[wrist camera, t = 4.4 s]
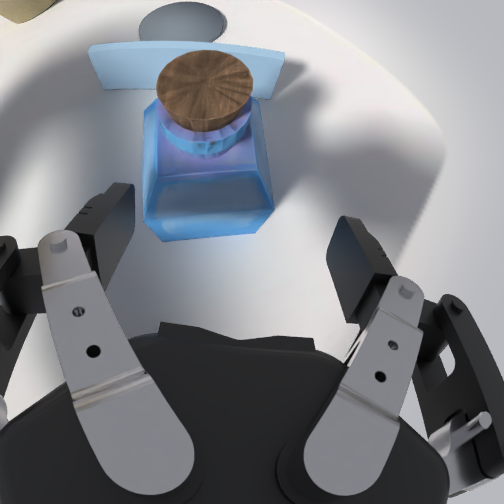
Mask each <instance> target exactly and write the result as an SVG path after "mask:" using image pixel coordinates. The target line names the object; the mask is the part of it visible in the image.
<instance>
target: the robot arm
mask: <svg viewBox="0 0 504 504" xmlns="http://www.w3.org/2000/svg"><path fill="white" fill-rule="evenodd" d="M134 227H135V188H134V185H133V184H126V183H116V182H115V183H113V184H112V186H111V187H110V188H109V189H108V190H107V191H106V192H105V193H104V194H99V195H97V196H95V197H93V198H92V199H90V200H89V201H88V202H87V203H86V205H85V206H84V208H82V209H81V210H80V211H79V214H77V215H76V216H75V217H74V218H73V220H72V221H71V222H70V223H69V224H68V226H67V227H66V228H65V229H64V230H59V231H55V232H52V233H49V234H48V235H46V236H45V237H43V238H42V239H41V240H40V242H39V244H38V247H36V248H27V249H18V245H17V242H16V239H15V238H14V237H12V236H0V504H447V499H448V498H451V497H454V496H457V495H459V494H462V493H464V492H467V491H471V490H474V489H476V488H478V487H480V486H482V485H484V484H486V483H488V482H490V481H492V480H494V479H496V478H498V477H499V476H500V475H502V474H503V473H504V381H503V378H502V376H501V374H500V371H499V369H498V367H497V365H496V362H495V361H494V358H493V356H492V354H491V352H490V350H489V348H488V345H487V343H486V341H485V339H484V337H483V336H482V334H481V332H480V330H479V328H478V326H477V324H476V322H475V320H474V319H473V317H472V315H471V313H470V311H469V310H468V308H467V306H466V305H465V304H464V303H463V302H462V301H461V300H460V299H458V298H457V297H455V296H453V295H450V294H445V295H443V296H442V298H441V299H440V300H439V302H438V303H437V304H436V303H434V302H431V301H428V300H425V299H424V294H423V292H422V290H421V289H420V288H419V286H418V285H417V284H415V283H414V282H413V281H411V280H410V279H407V278H405V277H402V276H398V274H397V273H396V271H395V269H394V267H393V266H392V264H391V262H390V260H389V259H388V257H386V256H387V255H386V254H385V252H384V251H383V249H382V247H381V245H380V244H379V242H378V241H377V240H376V239H375V238H374V237H373V236H372V235H371V234H370V233H368V231H367V230H366V228H365V226H364V225H363V223H362V221H361V220H360V219H357V218H352V217H347V216H341V217H340V218H339V220H338V222H337V225H336V228H335V230H334V233H333V236H332V238H331V241H330V243H329V246H328V249H327V254H326V261H327V265H328V268H329V271H330V274H331V277H332V280H333V283H334V286H335V289H336V292H337V295H338V298H339V301H340V304H341V307H342V310H343V313H344V317H345V320H346V323H354V324H359V326H360V330H359V332H358V333H357V335H356V337H355V339H354V340H353V342H352V344H351V346H350V347H349V349H348V351H347V353H346V354H345V356H344V358H343V360H342V361H340V360H338V359H336V358H335V357H333V356H331V355H329V354H327V353H324V352H321V351H319V350H315V345H314V340H313V338H304V337H289V336H271V337H264V338H256V339H247V340H236V339H233V338H230V337H227V336H223V335H220V334H217V333H214V332H211V331H208V330H206V329H203V328H200V327H194V326H186V325H179V324H173V323H166V322H161V323H160V327H159V331H158V333H151V334H145V335H140V336H137V337H133V338H131V339H128V340H127V338H126V336H125V334H124V332H123V330H122V328H121V326H120V324H119V322H118V320H117V318H116V316H115V314H114V312H113V310H112V308H111V306H110V303H109V301H108V299H107V297H106V295H105V290H106V288H107V286H108V284H109V281H110V279H111V277H112V275H113V273H114V271H115V269H116V267H117V265H118V263H119V261H120V259H121V257H122V255H123V253H124V251H125V249H126V247H127V245H128V243H129V241H130V239H131V237H132V235H133V232H134ZM37 313H47V317H48V321H49V325H50V329H51V333H52V337H53V340H54V344H55V347H56V351H57V354H58V358H59V361H60V364H61V367H62V370H63V373H64V376H65V379H66V382H64V383H63V384H61V385H60V386H59V387H57V388H56V389H54V390H53V391H52V392H50V393H49V394H47V395H46V396H44V397H43V398H42V399H40V400H39V401H37V402H36V403H35V404H33V405H32V406H30V407H29V408H28V409H26V410H25V411H23V412H22V413H20V414H19V415H18V416H16V417H15V418H13V419H12V420H11V421H8V419H7V406H6V403H5V400H4V399H3V398H4V395H5V392H6V389H7V386H8V383H9V380H10V377H11V374H12V372H13V369H14V366H15V364H16V361H17V359H18V356H19V354H20V351H21V349H22V346H23V344H24V341H25V339H26V337H27V335H28V332H29V330H30V328H31V326H32V323H33V321H34V319H35V317H36V315H37ZM448 344H449V346H450V349H451V351H452V354H453V356H454V358H455V368H454V371H453V372H452V374H451V375H449V376H448V377H447V374H446V371H445V368H444V366H443V363H442V361H441V358H440V356H439V354H440V353H441V352H442V351H443V350H444V349H445V347H446V346H447V345H448ZM411 377H412V380H413V384H414V387H415V391H416V394H417V398H418V401H419V405H420V409H421V412H422V416H423V420H424V424H425V428H426V432H427V437H428V442H427V441H426V440H425V439H424V438H422V437H421V436H420V435H419V434H418V433H417V432H416V431H415V430H414V429H413V428H412V427H411V426H410V425H409V424H407V423H406V422H405V421H404V420H403V419H402V418H401V417H400V416H399V413H400V410H401V407H402V405H403V402H404V398H405V396H406V393H407V390H408V387H409V384H410V380H411Z"/></svg>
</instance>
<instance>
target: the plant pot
mask: <svg viewBox="0 0 504 504" xmlns="http://www.w3.org/2000/svg"><path fill="white" fill-rule="evenodd" d="M55 1H56V0H0V15H2V16H3V17H5V18H7V19H9V20H11V21H13V22H15V23H23V22H26V21H28V20H30V19H32V18H34V17H36V16H37V15H39V14H40V13H42V12H43V11H45V10H46V9H47V8H49V7H50V6H51V5H52V4H53V3H54V2H55Z"/></svg>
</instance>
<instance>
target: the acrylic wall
mask: <svg viewBox="0 0 504 504" xmlns="http://www.w3.org/2000/svg"><path fill="white" fill-rule="evenodd" d="M198 50H218V51H221V52H225V53H228V54H231V55H233V56H234V57H236V58H238V59H239V60H241V61H242V62H243V63H244V64H245V65H246V66H247V67H248V69H249V70H250V73H251V75H252V78H253V91H252V93H251V96H252V97H256V98H263V99H269V100H270V99H271V96H272V93H273V90H274V88H275V85H276V82H277V79H278V77H279V74H280V71H281V68H282V66H283V63H284V60H285V53H284V52H279V51H273V50H267V49H261V48H254V47H247V46H240V45H231V44H221V43H209V42H193V41H133V42H117V43H105V44H96V45H91V46H90V48H89V50H88V52H87V53H88V56H89V58H90V60H91V63H92V65H93V67H94V69H95V72H96V74H97V76H98V78H99V81H100V83H101V85H102V87H103V89H104V90H108V89H156V83H157V79H158V76H159V74H160V72H161V71H162V70H163V68H164V67H165V66H166V65H167V64H168V63H169V62H171V61H172V60H173V59H175V58H176V57H178V56H181V55H183V54H185V53H188V52H192V51H198Z"/></svg>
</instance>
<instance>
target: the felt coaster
mask: <svg viewBox="0 0 504 504" xmlns="http://www.w3.org/2000/svg"><path fill="white" fill-rule="evenodd" d="M222 27H223V18H222V16H221V14H220V13H219V12H218V11H217V10H216V9H215V8H213V7H211V6H209V5H206V4H203V3H198V2H178V3H172V4H168V5H165V6H162V7H160V8H158V9H156V10H154V11H152V12H151V13H149V14H148V15H147V16H146V17H145V18H144V19H143V20H142V22H141V24H140V26H139V35H140V39H141V41H193V42H209V43H211V42H213V41H214V40H215V39H216V38H217V37H218V36H219V35H220V33H221V31H222Z"/></svg>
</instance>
